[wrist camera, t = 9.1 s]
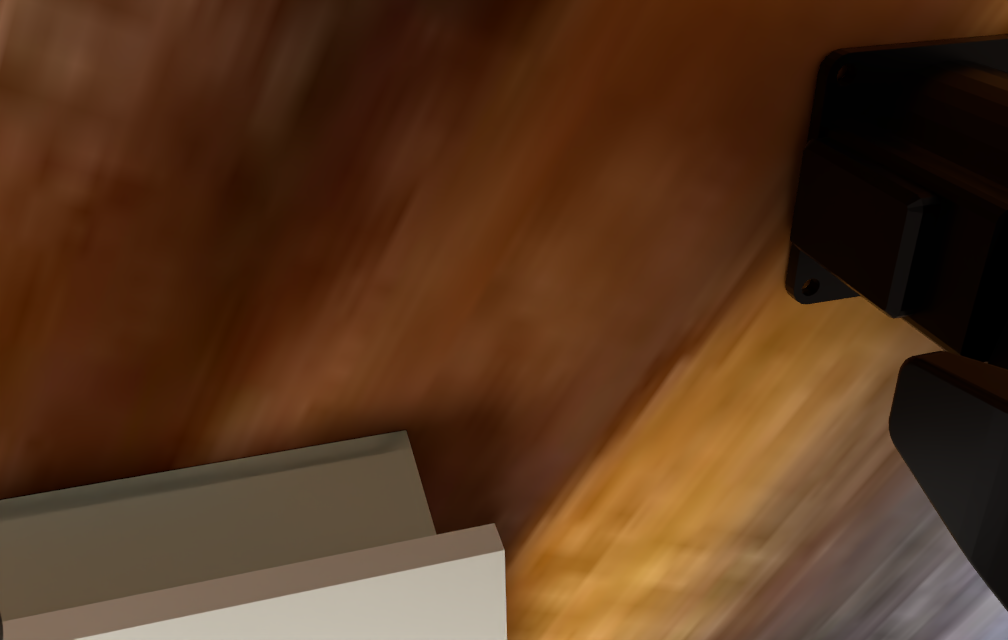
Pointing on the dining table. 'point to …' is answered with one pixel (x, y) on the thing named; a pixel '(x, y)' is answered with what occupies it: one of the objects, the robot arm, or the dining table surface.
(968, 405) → the robot arm
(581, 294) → the dining table surface
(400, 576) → the lid
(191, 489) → the pale green open box
